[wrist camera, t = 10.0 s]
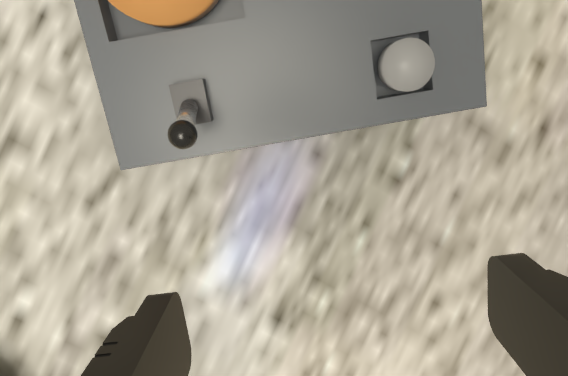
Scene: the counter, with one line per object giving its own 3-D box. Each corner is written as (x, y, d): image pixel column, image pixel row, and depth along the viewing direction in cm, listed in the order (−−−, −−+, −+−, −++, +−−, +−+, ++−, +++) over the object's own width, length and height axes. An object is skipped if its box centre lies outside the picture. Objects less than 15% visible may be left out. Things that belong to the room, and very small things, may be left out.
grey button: (424, 35, 31) (432, 33, 29) (428, 86, 32) (436, 86, 30) (374, 44, 31) (380, 42, 29) (380, 94, 32) (386, 95, 30)
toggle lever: (199, 90, 30) (191, 125, 25) (205, 114, 31) (199, 151, 26) (173, 94, 30) (161, 130, 25) (181, 118, 31) (170, 156, 26)
